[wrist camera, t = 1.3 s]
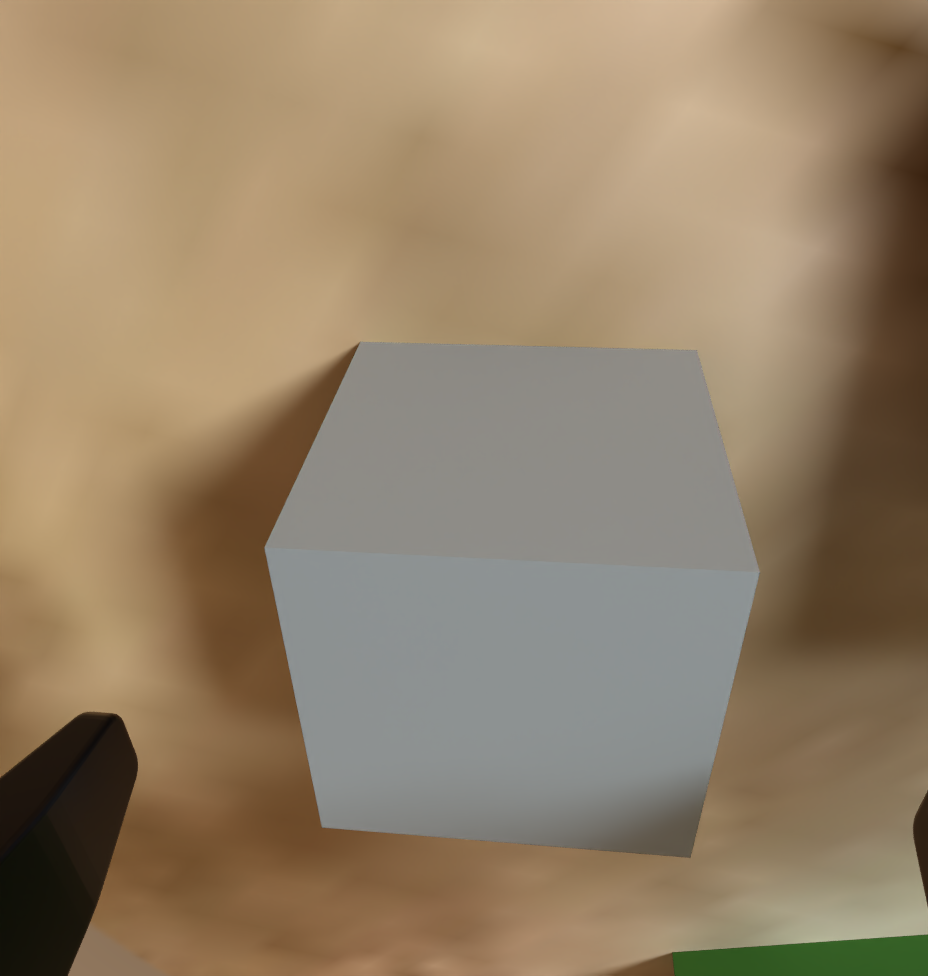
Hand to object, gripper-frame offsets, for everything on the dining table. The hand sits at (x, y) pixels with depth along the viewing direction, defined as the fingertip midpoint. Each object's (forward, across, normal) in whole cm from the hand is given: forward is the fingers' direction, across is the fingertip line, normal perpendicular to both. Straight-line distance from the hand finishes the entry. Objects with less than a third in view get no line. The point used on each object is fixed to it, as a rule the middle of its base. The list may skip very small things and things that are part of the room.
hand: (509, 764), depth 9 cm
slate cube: (+6, 0, 0) cm, 6 cm away
